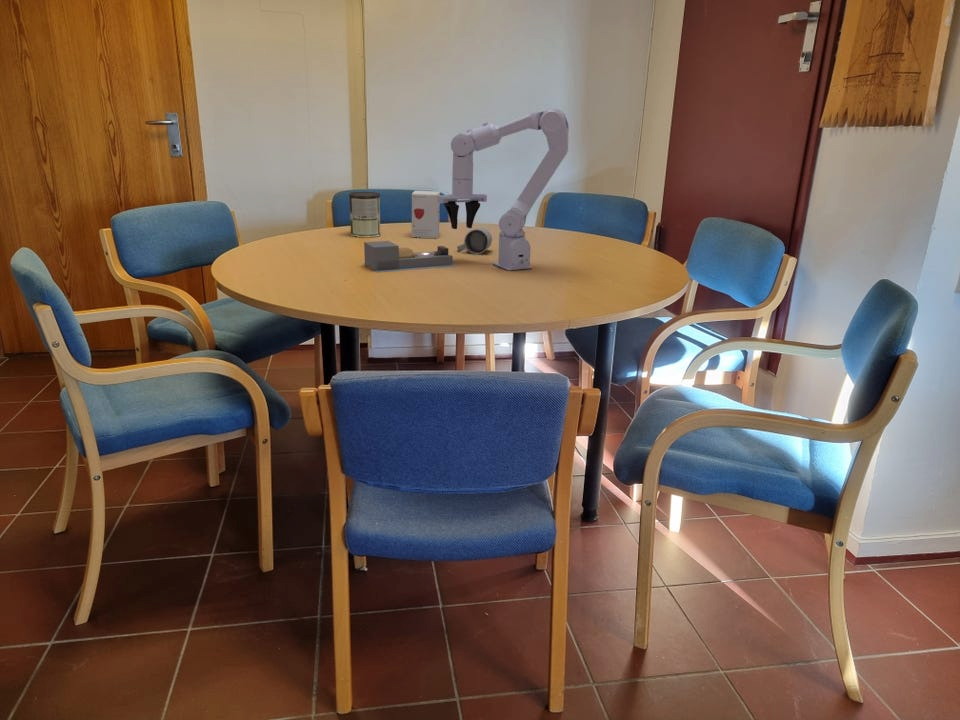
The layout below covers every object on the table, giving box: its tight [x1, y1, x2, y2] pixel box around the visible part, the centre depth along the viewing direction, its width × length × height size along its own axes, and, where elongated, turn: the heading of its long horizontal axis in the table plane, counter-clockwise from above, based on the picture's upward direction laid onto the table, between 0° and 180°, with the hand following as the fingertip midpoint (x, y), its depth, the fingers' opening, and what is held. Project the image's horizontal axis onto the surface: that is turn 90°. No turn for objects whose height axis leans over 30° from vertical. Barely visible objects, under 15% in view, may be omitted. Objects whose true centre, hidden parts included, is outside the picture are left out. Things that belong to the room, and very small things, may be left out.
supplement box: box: [411, 190, 441, 239], centre depth 239 cm, size 9×9×15 cm
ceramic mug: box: [456, 227, 493, 255], centre depth 216 cm, size 11×8×8 cm
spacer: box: [399, 247, 414, 259], centre depth 193 cm, size 4×4×4 cm
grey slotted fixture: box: [362, 240, 459, 274], centre depth 193 cm, size 12×24×7 cm, turn 117°
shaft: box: [413, 245, 449, 258], centre depth 196 cm, size 4×10×4 cm, turn 117°
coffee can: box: [348, 191, 381, 238], centre depth 237 cm, size 10×10×14 cm
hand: (461, 228), depth 198 cm, fingers open, 4 cm apart
